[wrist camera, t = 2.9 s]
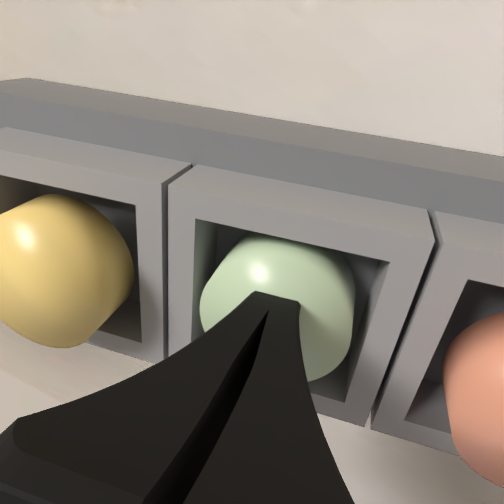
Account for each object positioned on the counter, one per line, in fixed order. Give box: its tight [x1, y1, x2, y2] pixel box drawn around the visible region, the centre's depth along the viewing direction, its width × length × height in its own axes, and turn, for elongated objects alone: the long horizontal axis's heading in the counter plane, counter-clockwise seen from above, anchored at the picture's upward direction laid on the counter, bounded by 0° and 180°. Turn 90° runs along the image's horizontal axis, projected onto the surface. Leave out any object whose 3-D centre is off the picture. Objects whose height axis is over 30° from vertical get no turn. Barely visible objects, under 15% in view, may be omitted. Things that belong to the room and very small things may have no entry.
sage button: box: [200, 231, 356, 382], centre depth 12 cm, size 4×4×2 cm
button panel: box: [0, 78, 504, 456], centre depth 14 cm, size 24×9×5 cm, turn 83°
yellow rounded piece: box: [0, 194, 134, 348], centre depth 12 cm, size 4×4×2 cm
